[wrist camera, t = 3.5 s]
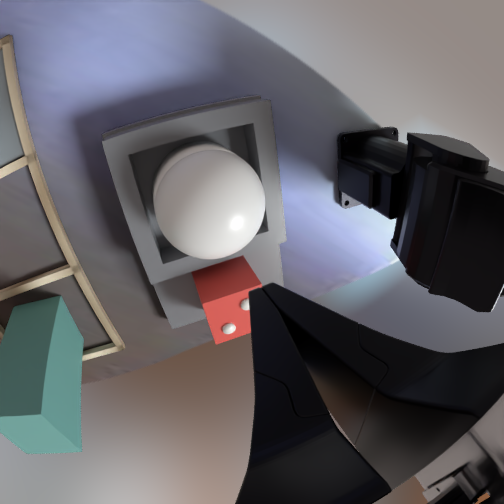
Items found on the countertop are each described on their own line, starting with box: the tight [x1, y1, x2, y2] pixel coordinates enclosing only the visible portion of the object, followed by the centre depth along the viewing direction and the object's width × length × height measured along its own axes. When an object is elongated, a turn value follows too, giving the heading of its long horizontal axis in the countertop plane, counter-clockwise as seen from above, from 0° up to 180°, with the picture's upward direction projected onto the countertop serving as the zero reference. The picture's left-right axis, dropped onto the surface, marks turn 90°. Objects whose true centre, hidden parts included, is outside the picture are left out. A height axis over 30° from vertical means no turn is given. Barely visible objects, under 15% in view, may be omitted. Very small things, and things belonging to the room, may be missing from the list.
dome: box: [152, 141, 265, 259], centre depth 16 cm, size 6×6×6 cm
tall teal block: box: [0, 295, 84, 454], centre depth 17 cm, size 5×5×11 cm
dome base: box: [102, 95, 286, 344], centre depth 20 cm, size 10×16×5 cm, turn 8°
